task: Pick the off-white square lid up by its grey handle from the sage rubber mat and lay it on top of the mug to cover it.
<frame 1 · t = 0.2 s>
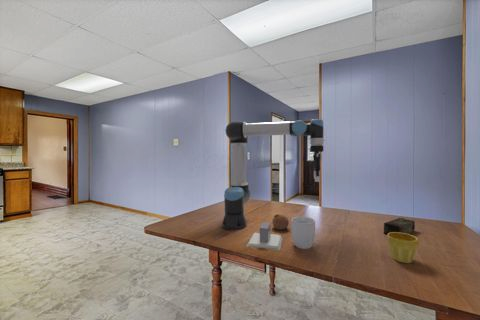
hand: (316, 180, 133), 28 cm above the table, tool pointing down, fingers open, 13 cm apart
beverage carton: (399, 233, 121), on the table
mug: (304, 246, 106), on the table
onion: (280, 229, 128), on the table
lid: (265, 241, 111), resting on mat
plant pot: (401, 259, 92), on the table
mat: (265, 242, 111), on the table
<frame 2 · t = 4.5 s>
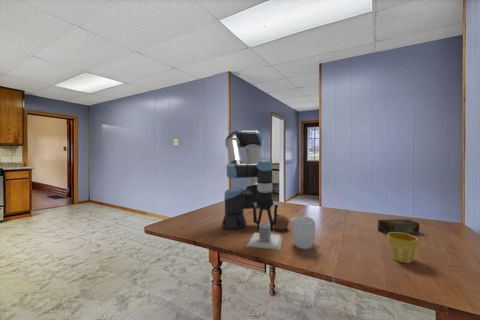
hand: (265, 237, 111), 3 cm above the table, tool pointing down, fingers closed on lid, 4 cm apart
lid: (265, 241, 111), resting on mat, touching gripper
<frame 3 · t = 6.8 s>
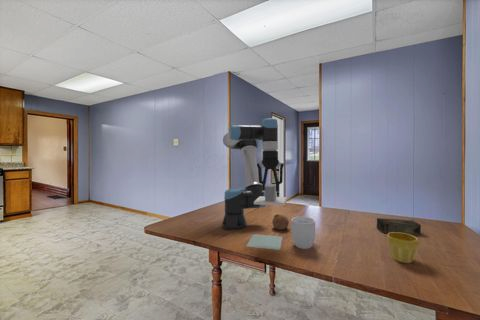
hand: (270, 197, 109), 23 cm above the table, tool pointing down, fingers closed on lid, 4 cm apart
lid: (270, 201, 109), point 21 cm above the table, touching gripper
when the fingers open (15 cm above the table, at t = 9.1 s): lid stays where it is, resting on mug.
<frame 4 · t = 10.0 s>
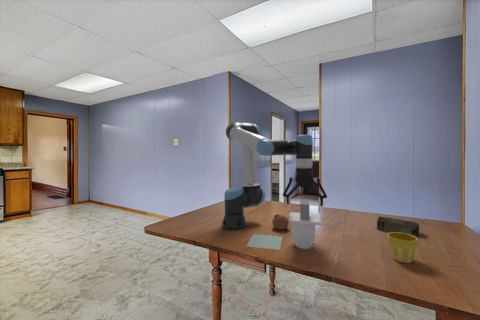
hand: (304, 211, 105), 17 cm above the table, tool pointing down, fingers open, 13 cm apart
mug: (304, 246, 106), on the table, touching lid
lid: (304, 219, 105), point 13 cm above the table, touching mug
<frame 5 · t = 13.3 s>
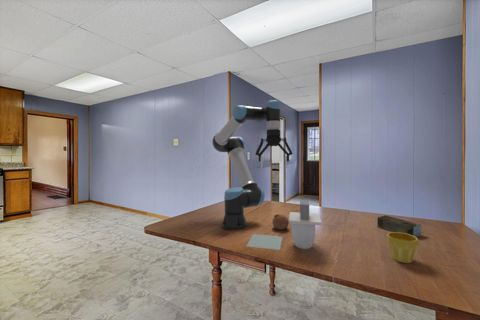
hand: (273, 167, 122), 37 cm above the table, tool pointing down, fingers open, 13 cm apart
at the end: lid 0.2 cm from the mug (horizontally); lid point 13.0 cm above the table; mug tilted 0° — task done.
